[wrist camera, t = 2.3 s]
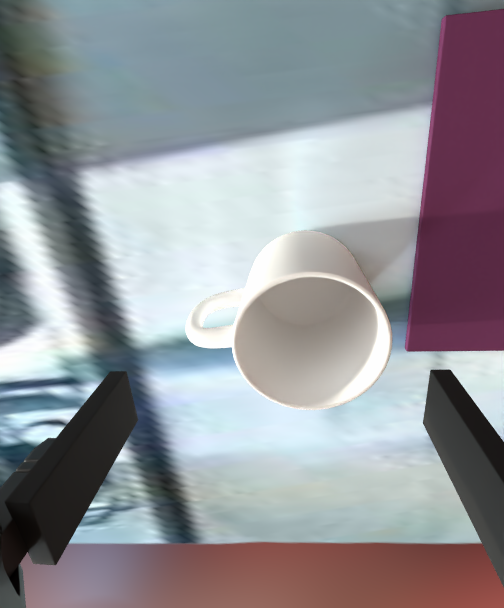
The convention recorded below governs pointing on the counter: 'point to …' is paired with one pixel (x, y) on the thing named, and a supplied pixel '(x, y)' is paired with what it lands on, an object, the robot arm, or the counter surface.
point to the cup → (302, 324)
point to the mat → (463, 195)
